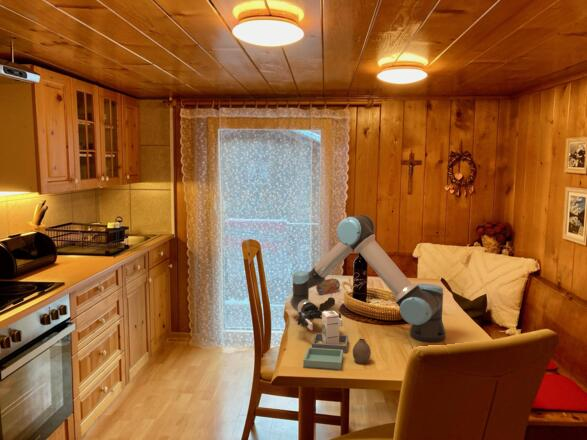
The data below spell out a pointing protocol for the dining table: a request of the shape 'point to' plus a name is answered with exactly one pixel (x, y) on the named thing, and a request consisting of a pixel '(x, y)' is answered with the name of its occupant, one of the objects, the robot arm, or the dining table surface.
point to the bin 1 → (330, 346)
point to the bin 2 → (323, 359)
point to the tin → (328, 286)
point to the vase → (361, 351)
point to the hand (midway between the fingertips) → (326, 325)
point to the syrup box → (330, 327)
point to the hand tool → (327, 304)
